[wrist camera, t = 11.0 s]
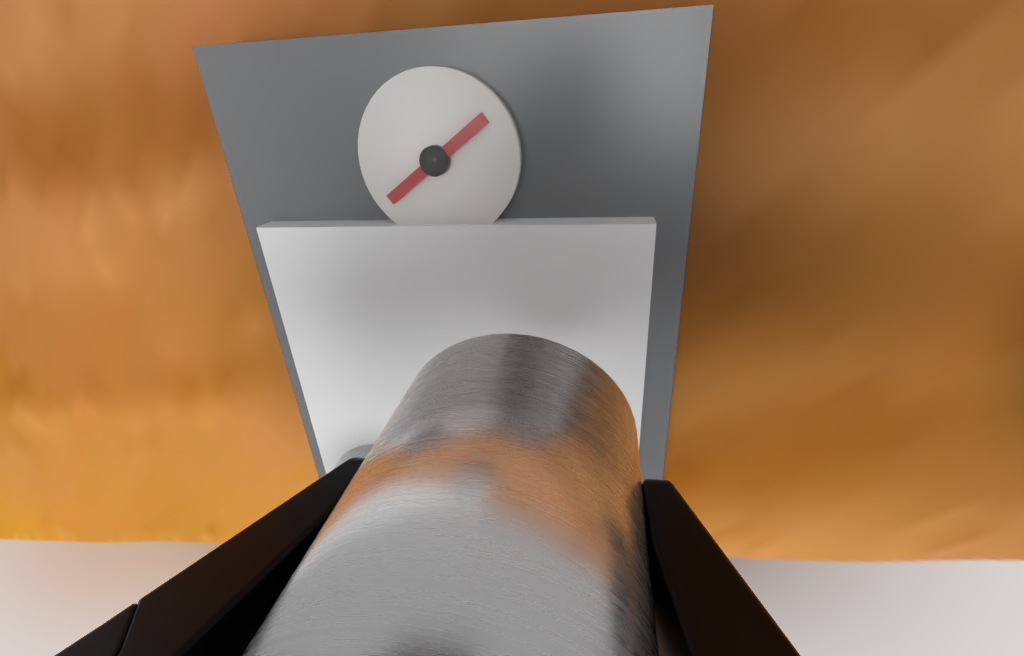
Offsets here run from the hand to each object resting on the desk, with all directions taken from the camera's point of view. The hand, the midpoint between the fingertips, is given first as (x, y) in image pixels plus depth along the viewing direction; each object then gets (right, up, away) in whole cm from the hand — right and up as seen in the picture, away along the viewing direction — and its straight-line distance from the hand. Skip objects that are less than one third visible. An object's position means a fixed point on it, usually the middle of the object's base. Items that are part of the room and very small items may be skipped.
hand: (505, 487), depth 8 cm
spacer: (0, +1, +1) cm, 1 cm away
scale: (-1, +3, +11) cm, 11 cm away
